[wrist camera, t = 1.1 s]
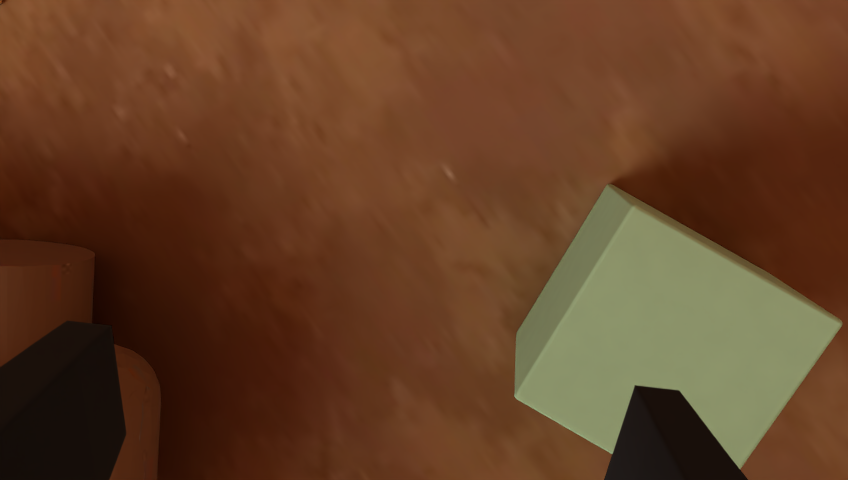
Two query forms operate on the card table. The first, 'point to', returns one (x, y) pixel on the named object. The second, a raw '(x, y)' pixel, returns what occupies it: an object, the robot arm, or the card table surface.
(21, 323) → the toy
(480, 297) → the card table surface
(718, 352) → the felt cube
